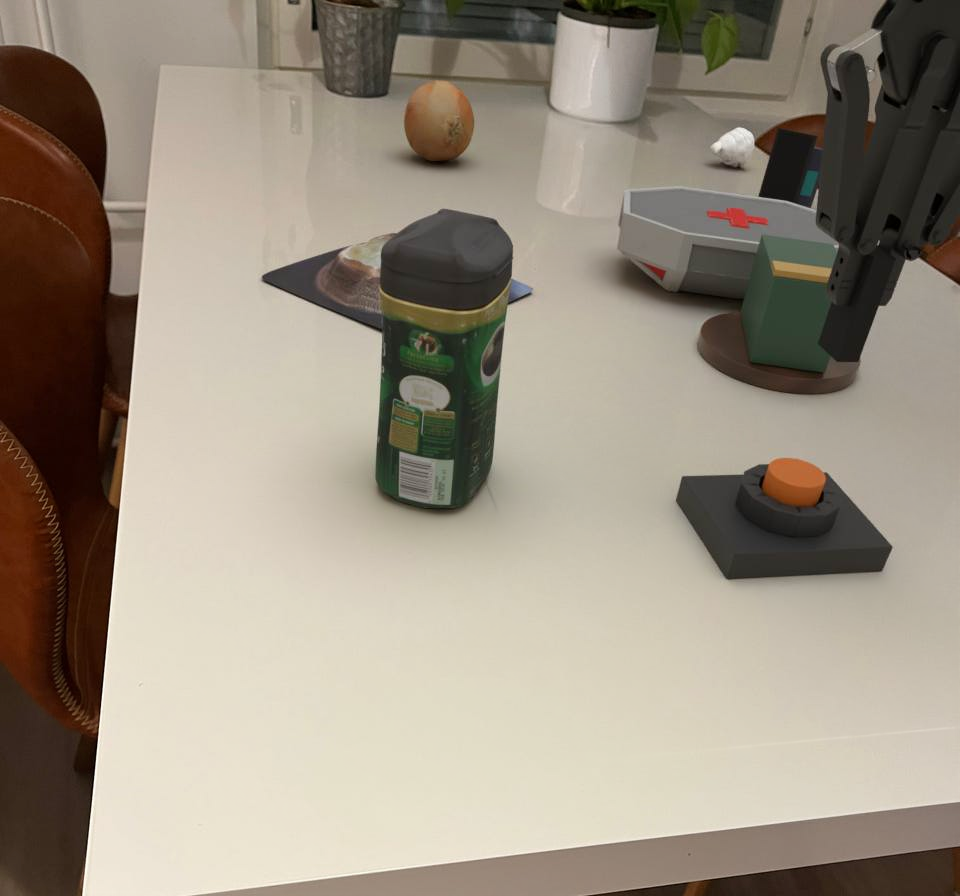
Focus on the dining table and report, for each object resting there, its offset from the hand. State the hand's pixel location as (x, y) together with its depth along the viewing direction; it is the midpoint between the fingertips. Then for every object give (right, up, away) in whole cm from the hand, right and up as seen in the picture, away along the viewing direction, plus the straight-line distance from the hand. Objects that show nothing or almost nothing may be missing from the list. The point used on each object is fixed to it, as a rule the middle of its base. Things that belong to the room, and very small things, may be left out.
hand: (837, 352), depth 63 cm
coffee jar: (-26, -7, +11) cm, 29 cm away
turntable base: (+6, +9, +34) cm, 36 cm away
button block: (-1, -11, +9) cm, 14 cm away
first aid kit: (+4, +22, +49) cm, 54 cm away
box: (+6, +11, +33) cm, 35 cm away
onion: (-29, +49, +76) cm, 95 cm away
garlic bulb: (+15, +55, +89) cm, 106 cm away
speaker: (+19, +41, +74) cm, 87 cm away
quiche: (-31, +18, +39) cm, 53 cm away
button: (-1, -8, +7) cm, 11 cm away
